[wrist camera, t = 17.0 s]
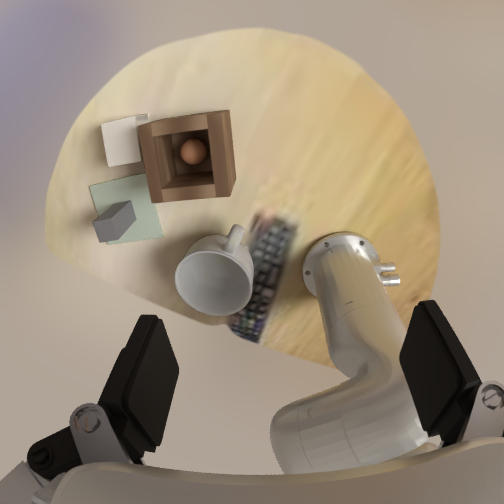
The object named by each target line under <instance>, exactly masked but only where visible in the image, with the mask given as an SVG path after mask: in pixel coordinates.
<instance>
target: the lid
mask: <svg viewBox="0 0 504 504" xmlns="http://www.w3.org/2000/svg"><path fill="white" fill-rule="evenodd" d="M89 187H90V190H91V194H92V197H93V200H94V204H95V207H96V210H97V213H98V216H99V217H97V218H96V219H95V220H94V221H93V225H94V228H95V231H96V234H97V237H98V239H99V242H100V243H101V242H107V243H108V245H111V244H118V243H125V242H133V241H140V240H148V239H155V238H163V237H164V234H163V230H162V226H161V223H160V219H159V215H158V212H157V208H156V204H155V203H151V198H150V193H149V188H148V183H147V177H146V173H142V174H137V175H133V176H128V177H124V178H119V179H115V180H111V181H107V182H103V183H99V184H95V185H91V186H89Z"/></svg>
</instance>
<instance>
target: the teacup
mask: <svg viewBox="0 0 504 504" xmlns="http://www.w3.org/2000/svg"><path fill="white" fill-rule="evenodd" d="M243 234H244V228H243V227H242V226H240V225H237V224H235V225H233V227H232V228H231V230H230V232H229V234H228V236H224V235H210V236H206V237H203V238H201V239H200V240H198V241H197V242H195V243H194V244H193V245H192V246H191V247H190V249H189V250H188V251H187V253H186V254H185V256H184V257H183V259H182V260H181V261H180V262H179V264H178V266H177V268H176V270H175V276H174V281H175V286H176V289H177V291H178V293H179V295H180V297H181V298H182V299H183V300H184V301H185V302H186V303H187V304H188V305H189V306H190V307H192V308H193V309H195V310H196V311H198V312H201V313H204V314H207V315H211V316H227V315H231V314H234V313H236V312H238V311H240V310H241V309H243V308H244V307H245V306H246V305H247V303H248V302H249V300H250V298H251V295H252V287H253V286H252V284H253V276H254V266H253V261H252V258H251V256H250V254H249V252H248V250H247V249H246V248H245V247H244V246H243V245H242V244H241V243H240V242H241V239H242V237H243Z"/></svg>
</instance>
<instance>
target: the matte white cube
mask: <svg viewBox="0 0 504 504" xmlns="http://www.w3.org/2000/svg"><path fill="white" fill-rule="evenodd" d="M146 123H149V115H148V114H142V115H137V116H133V117H128V118H124V119H120V120H115V121H111V122H107V123H103V124H101V128H102V134H103V140H104V146H105V152H106V157H107V163H108V167H112V166H117V165H123V164H129V163H135V162H141V161H143V154H142V148H141V142H140V135H139V128H138V126H139V125H142V124H146Z"/></svg>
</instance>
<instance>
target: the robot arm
mask: <svg viewBox="0 0 504 504" xmlns="http://www.w3.org/2000/svg"><path fill="white" fill-rule="evenodd" d="M360 241H361V242H360ZM325 242H327V243H325ZM385 271H386V272H391V271H395V264H394V263H384V264H381V262H379V257H378V254H377V251H376V249H375V248H374V246H373V245H372V243H371V242H370V241H369V240H368V239H366V238H365V237H363V236H361V235H358V234H356V233H350V232H339V233H335V234H331V235H329V236H326V237H324V238H323V239H321V240H319V241H318V242H317V243H316V244H315V245H313V246H312V248H311V249H310V250H309V251H308V253H307V255H306V257H305V259H304V262H303V267H302V273H303V279H304V283H305V285H306V287H307V289H308V290H309V291H310V292H311V293H312V294H313V295H314V296H316V297H317V298H318V303H319V307H320V312H321V317H322V322H323V327H324V332H325V337H326V342H327V346H328V351H329V355H330V358H331V360H332V362H333V363H334V365H335V366H336V367H337V368H338V369H339V370H340V371H341V372H342V373H343V374H345V375H346V376H347V377H349V378H351V379H350V380H347V381H345V382H343V383H341V384H340V385H337V386H335V387H332V388H330V389H327V390H324V391H322V392H319V393H317V394H314V395H311V396H308V397H305V398H303V399H300V400H297V401H294V402H292V403H290V404H288V405H286V406H284V407H282V408H281V409H280V410H279V411H277V413H276V414H275V415H274V417H273V419H272V422H271V426H270V439H271V444H272V448H273V451H274V453H275V456H276V458H277V461H278V463H279V465H280V467H281V469H282V471H283V472H284V474H285V475H231V474H230V475H229V474H213V473H201V472H191V471H181V470H173V469H165V468H158V467H151V466H147V465H146V464H145V462H144V461H143V459H142V457H143V456H144V452H145V451H148V452H155V450H156V446H160V444H161V442H162V438H163V433H164V430H165V426H166V421H167V418H168V413H169V410H170V406H171V402H172V398H173V394H174V390H175V386H176V382H177V379H178V375H179V366H178V363H177V360H176V358H175V355H174V352H173V350H172V347H171V344H170V341H169V338H168V335H167V332H166V329H165V327H164V324H163V321H162V319H158V317H157V316H156V315H141V316H140V317H139V319H138V321H137V323H136V325H135V327H134V330H133V332H132V334H131V336H130V338H129V340H128V342H127V344H126V347H125V348H123V349H122V350H121V352H120V354H119V356H118V358H117V360H116V362H115V364H114V367H113V369H112V371H111V373H110V376H109V378H108V380H107V382H106V385H105V387H104V389H103V392H102V394H101V396H100V399H99V401H98V404H94V403H86V404H83V405H81V406H79V407H77V408H76V410H75V411H73V413H72V415H71V417H70V421H69V423H70V426H68V427H66V428H64V429H62V430H60V431H58V432H56V433H55V434H52V435H50V436H48V437H46V438H44V439H42V440H40V441H38V442H36V443H35V444H33V445H32V446H31V447H30V449H29V451H28V454H27V462H26V463H25V462H24V461H22V462H21V463H20V464H18V465H17V466H16V467H15V468H14V469H13V470H12V471H11V472H10V473H9V474H8V475H6V476H5V477H4V478H3V479H2V480H1V481H0V504H504V386H503V385H502V384H500V383H498V382H496V381H487V382H485V383H483V384H482V382H481V380H480V378H479V376H478V374H477V372H476V370H475V368H474V366H473V364H472V362H471V361H470V359H469V357H468V355H467V353H466V352H465V350H464V348H463V346H462V344H461V343H460V341H459V339H458V337H457V336H456V334H455V332H454V331H453V329H452V327H451V326H450V324H449V322H448V321H447V319H446V317H445V316H444V315H443V313H442V311H441V309H440V308H439V306H438V305H437V303H436V302H435V301H434V300H427V301H420V302H419V303H418V305H417V306H415V307H414V310H413V314H412V317H411V320H410V324H409V327H408V330H407V331H406V329H405V327H404V325H403V323H402V321H401V319H400V316H399V315H398V313H397V311H396V309H395V307H394V305H393V303H392V301H391V299H390V297H389V295H388V293H387V291H386V289H385V287H384V286H398V285H399V283H400V277H399V275H398V274H388V275H381V274H380V273H381V272H385ZM439 434H440V437H441V443H440V445H439V447H438V446H437V445H435V444H433V443H426V442H427V441H428V440H430V439H431V438H432V437H433V436H436V435H439Z"/></svg>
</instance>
